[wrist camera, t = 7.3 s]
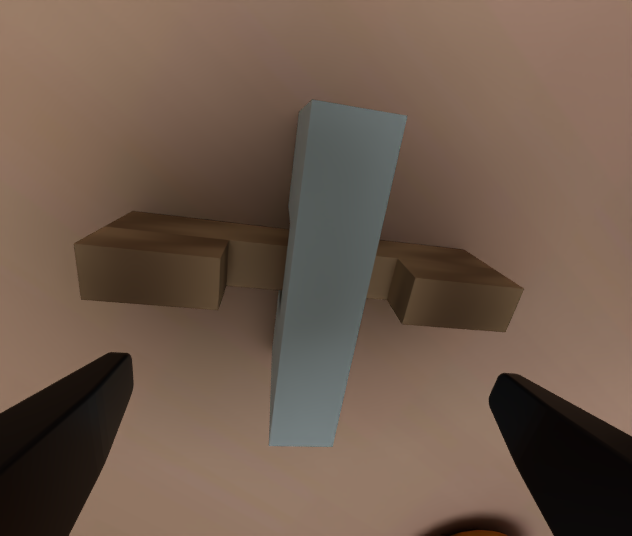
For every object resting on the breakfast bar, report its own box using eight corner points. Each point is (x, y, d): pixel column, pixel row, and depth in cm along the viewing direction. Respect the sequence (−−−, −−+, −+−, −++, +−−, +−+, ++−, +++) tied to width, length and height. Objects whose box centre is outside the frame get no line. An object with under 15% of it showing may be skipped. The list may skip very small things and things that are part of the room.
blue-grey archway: (357, 121, 14) (407, 115, 8) (316, 352, 18) (332, 446, 13) (299, 111, 14) (312, 99, 8) (272, 349, 18) (268, 445, 13)
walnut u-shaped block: (464, 249, 17) (524, 288, 13) (452, 284, 18) (505, 332, 13) (132, 210, 14) (73, 243, 10) (134, 253, 15) (81, 299, 11)
